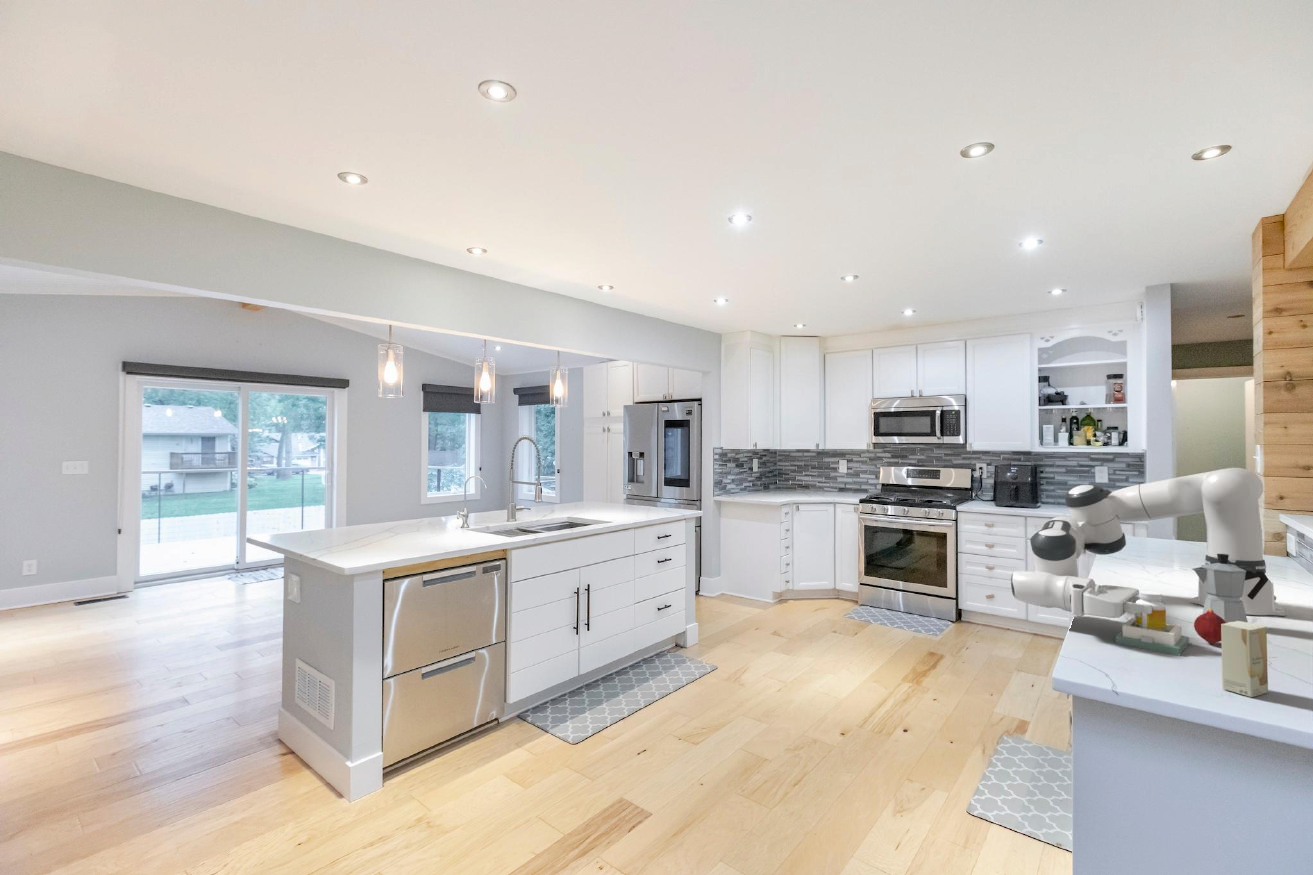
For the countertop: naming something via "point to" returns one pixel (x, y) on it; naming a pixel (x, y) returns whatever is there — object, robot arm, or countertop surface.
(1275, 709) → the countertop surface
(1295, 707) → the countertop surface
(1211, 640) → the onion
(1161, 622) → the supplement bottle
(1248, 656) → the skincare box
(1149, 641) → the board
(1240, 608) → the coffee maker
